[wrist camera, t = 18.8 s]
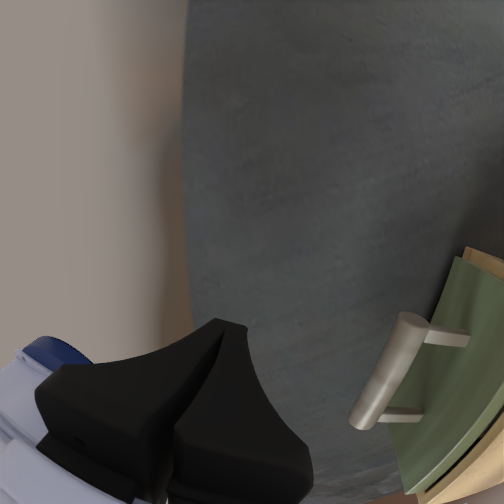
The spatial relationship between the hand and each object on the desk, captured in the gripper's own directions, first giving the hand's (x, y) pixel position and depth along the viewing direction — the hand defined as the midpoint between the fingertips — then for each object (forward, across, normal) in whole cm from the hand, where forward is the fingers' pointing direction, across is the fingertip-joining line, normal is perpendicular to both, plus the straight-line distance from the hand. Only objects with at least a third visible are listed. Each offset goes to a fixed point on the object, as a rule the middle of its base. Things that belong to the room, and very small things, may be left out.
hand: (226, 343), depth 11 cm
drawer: (+3, -14, 0) cm, 14 cm away
